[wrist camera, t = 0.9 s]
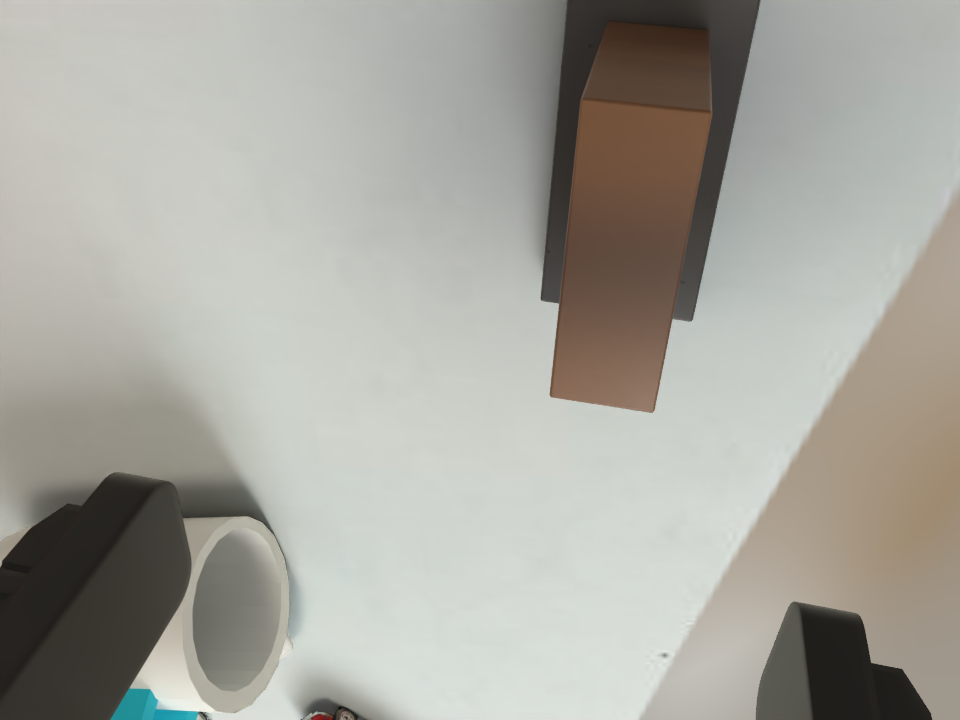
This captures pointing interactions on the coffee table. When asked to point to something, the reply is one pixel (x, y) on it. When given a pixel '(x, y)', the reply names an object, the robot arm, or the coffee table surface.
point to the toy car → (343, 716)
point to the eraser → (636, 183)
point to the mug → (214, 625)
